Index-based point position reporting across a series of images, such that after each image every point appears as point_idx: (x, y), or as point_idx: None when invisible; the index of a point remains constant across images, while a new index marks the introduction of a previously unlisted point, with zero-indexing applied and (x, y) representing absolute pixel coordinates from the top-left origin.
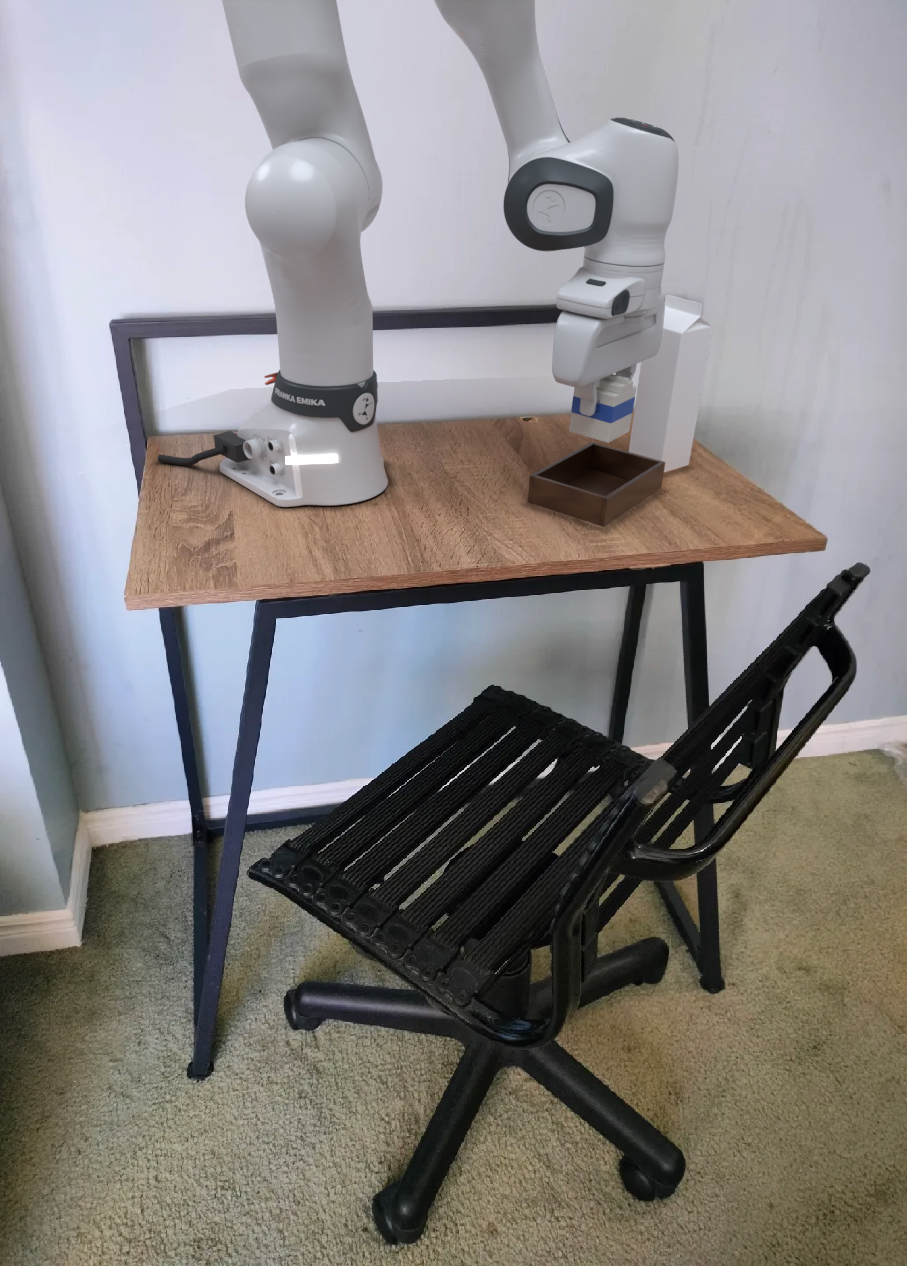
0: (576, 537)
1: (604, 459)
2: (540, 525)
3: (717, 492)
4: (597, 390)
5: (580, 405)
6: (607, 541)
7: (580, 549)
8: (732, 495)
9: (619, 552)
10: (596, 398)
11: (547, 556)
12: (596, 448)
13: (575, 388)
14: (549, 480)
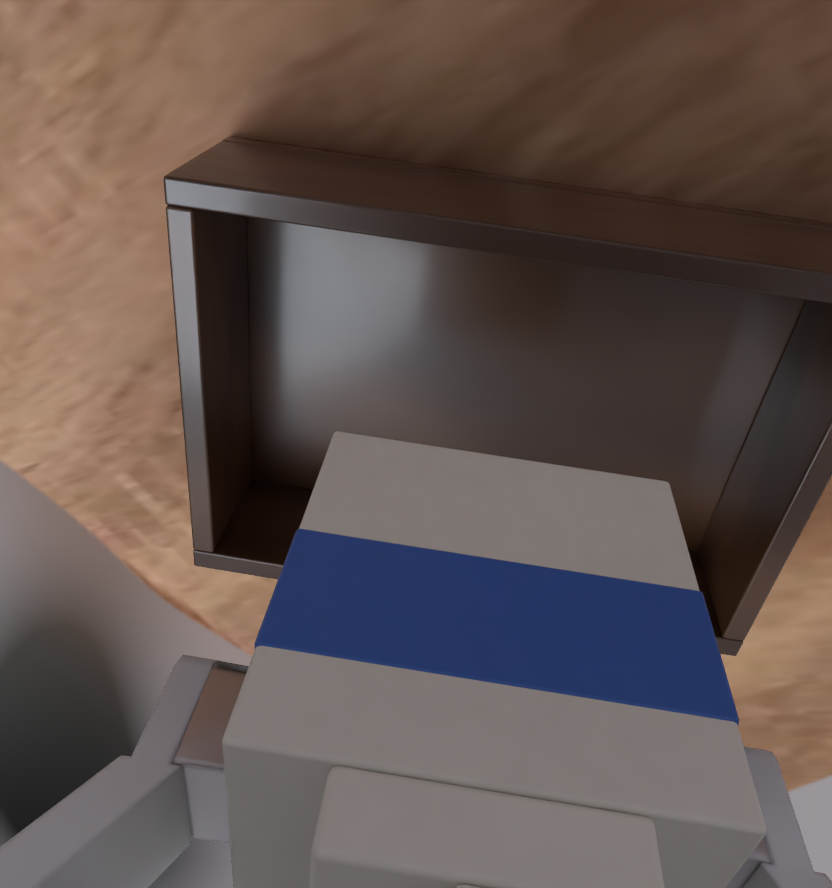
0: (126, 425)
1: (819, 358)
2: (106, 277)
3: (781, 696)
4: (275, 882)
5: (158, 700)
6: (178, 512)
7: (63, 462)
8: (772, 730)
9: (140, 556)
10: (163, 860)
11: None
12: None
13: (226, 729)
14: (181, 303)
